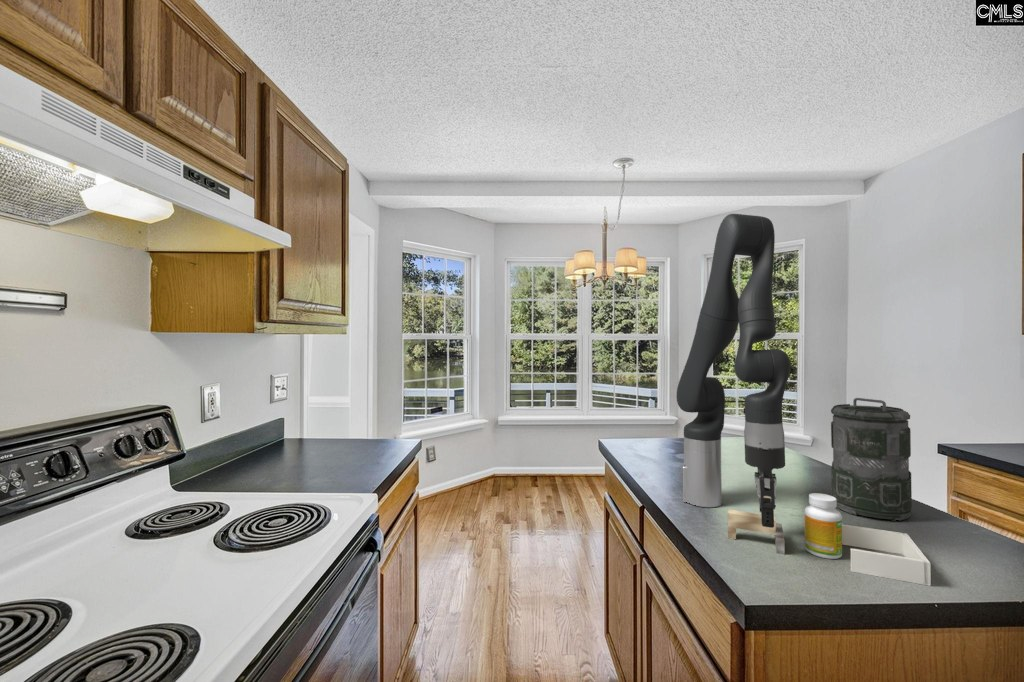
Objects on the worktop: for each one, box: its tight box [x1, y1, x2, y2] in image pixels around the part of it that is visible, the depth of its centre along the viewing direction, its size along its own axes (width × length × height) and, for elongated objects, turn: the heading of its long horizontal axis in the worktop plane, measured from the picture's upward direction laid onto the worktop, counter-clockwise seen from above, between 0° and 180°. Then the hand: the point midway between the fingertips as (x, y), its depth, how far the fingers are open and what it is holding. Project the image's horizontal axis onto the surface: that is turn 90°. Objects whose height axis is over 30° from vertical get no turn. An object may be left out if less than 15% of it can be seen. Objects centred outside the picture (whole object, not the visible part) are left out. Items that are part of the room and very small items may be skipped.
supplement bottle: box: [804, 492, 843, 560], centre depth 92 cm, size 6×6×11 cm
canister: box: [830, 397, 913, 522], centre depth 115 cm, size 16×16×28 cm
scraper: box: [727, 509, 786, 555], centre depth 98 cm, size 10×9×6 cm
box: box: [842, 523, 932, 587], centre depth 88 cm, size 11×14×4 cm
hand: (766, 519), depth 97 cm, fingers open, 8 cm apart
